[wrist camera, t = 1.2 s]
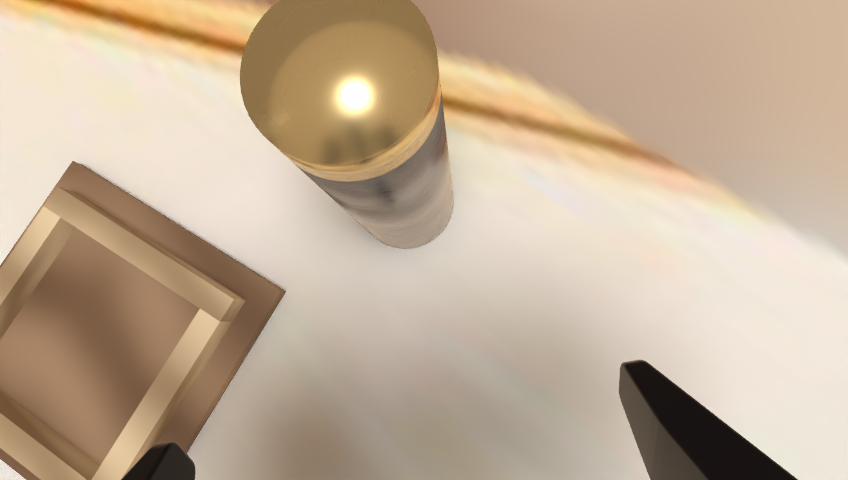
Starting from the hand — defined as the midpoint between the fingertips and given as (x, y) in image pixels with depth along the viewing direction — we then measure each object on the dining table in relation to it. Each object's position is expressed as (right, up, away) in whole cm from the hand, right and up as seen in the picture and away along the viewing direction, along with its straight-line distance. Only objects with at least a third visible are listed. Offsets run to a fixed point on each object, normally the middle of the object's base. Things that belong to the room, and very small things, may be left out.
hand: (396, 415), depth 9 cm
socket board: (-16, -2, +15) cm, 22 cm away
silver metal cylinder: (0, +5, +15) cm, 16 cm away
